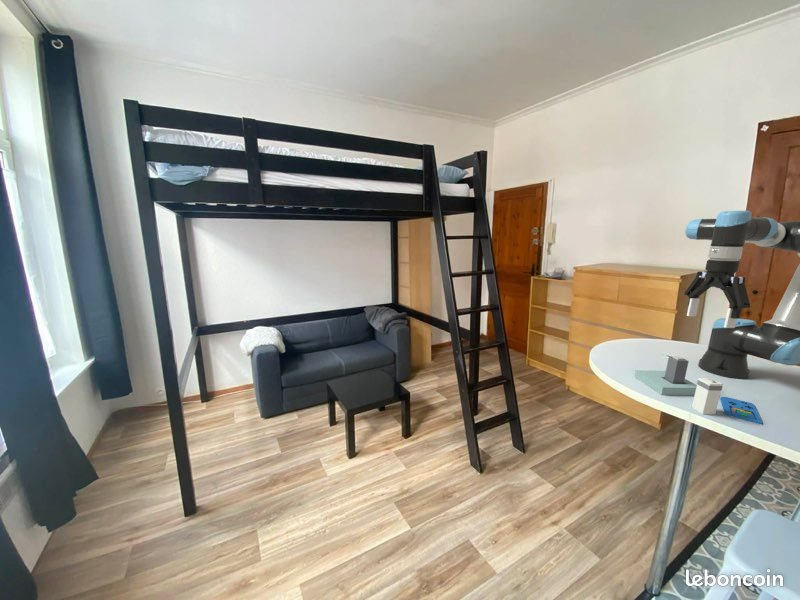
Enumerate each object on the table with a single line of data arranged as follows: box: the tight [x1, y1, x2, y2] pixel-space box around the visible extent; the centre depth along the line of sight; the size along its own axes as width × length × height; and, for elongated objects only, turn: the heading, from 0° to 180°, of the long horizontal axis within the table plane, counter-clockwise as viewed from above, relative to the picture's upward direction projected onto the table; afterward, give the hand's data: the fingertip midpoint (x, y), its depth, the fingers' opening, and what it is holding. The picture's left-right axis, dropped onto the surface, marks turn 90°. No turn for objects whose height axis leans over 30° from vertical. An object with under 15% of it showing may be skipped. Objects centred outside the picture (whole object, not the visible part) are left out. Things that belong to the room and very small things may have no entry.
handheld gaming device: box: [719, 396, 763, 425], centre depth 104 cm, size 8×1×15 cm
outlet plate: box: [634, 369, 697, 396], centre depth 119 cm, size 14×14×3 cm
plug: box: [664, 355, 689, 384], centre depth 117 cm, size 4×4×13 cm
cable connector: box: [691, 377, 723, 415], centre depth 102 cm, size 4×4×12 cm
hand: (709, 321), depth 105 cm, fingers open, 13 cm apart
